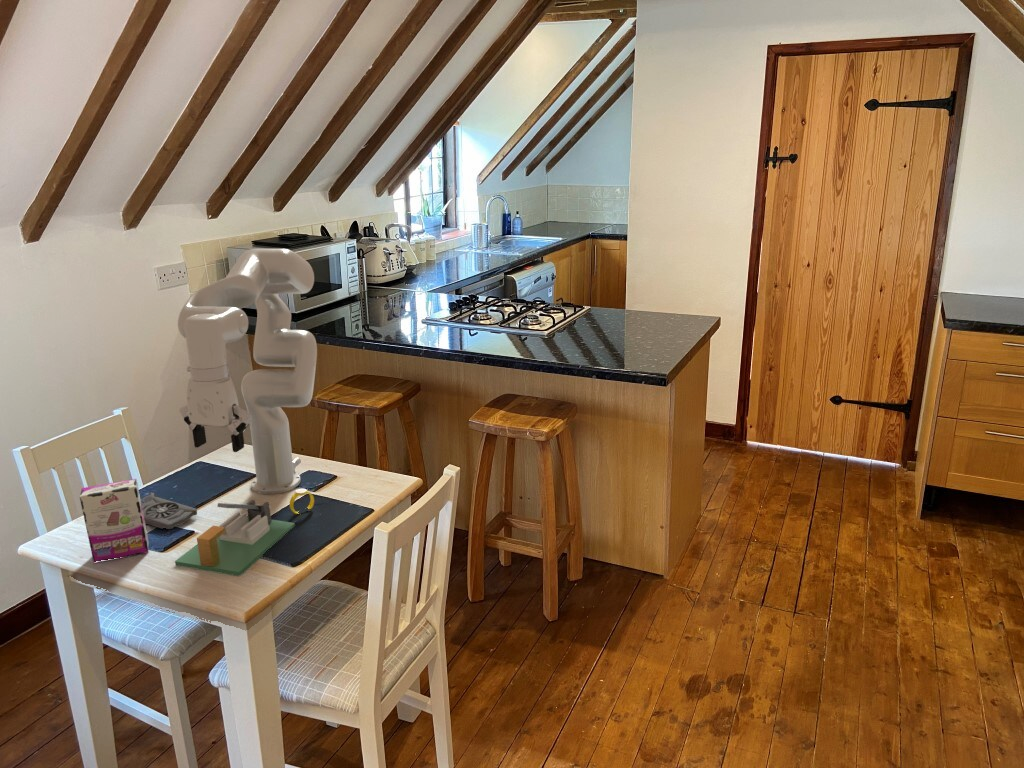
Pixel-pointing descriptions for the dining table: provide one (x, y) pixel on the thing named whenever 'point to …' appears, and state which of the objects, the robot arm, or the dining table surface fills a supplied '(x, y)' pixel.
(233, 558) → the board
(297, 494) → the watch
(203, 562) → the block
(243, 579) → the dining table surface
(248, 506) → the grey long bar
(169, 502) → the graphics card
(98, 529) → the candy bar box
